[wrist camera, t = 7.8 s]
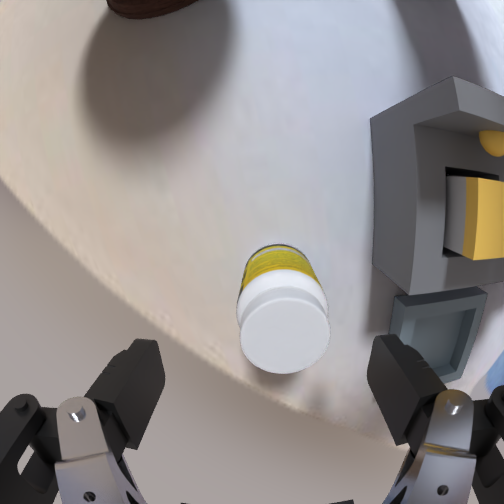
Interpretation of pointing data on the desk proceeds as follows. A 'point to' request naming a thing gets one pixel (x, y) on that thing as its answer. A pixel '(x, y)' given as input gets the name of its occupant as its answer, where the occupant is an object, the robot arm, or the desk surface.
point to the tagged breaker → (474, 217)
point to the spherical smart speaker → (146, 7)
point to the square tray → (440, 327)
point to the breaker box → (432, 182)
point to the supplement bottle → (282, 311)
